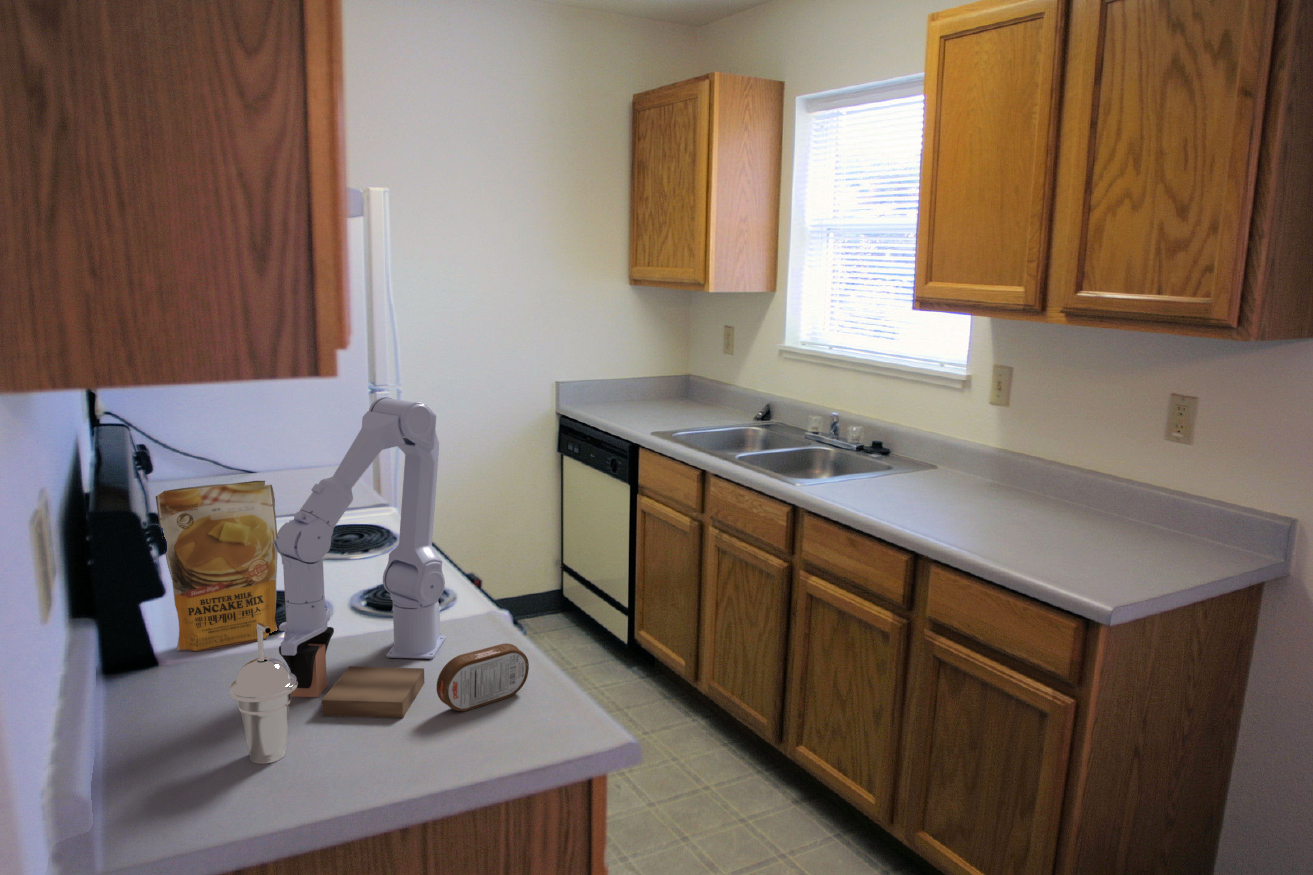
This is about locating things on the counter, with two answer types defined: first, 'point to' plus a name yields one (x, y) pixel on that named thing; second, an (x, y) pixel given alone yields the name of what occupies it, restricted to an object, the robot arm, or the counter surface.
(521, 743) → the counter surface
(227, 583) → the pancake mix bag
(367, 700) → the walnut base
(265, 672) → the cup with straw
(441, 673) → the tin
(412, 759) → the counter surface
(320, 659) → the terracotta block
